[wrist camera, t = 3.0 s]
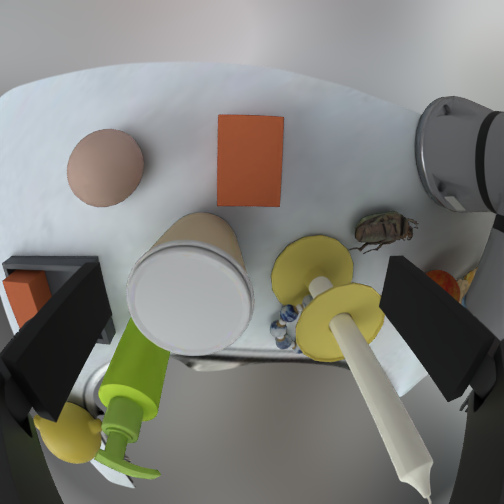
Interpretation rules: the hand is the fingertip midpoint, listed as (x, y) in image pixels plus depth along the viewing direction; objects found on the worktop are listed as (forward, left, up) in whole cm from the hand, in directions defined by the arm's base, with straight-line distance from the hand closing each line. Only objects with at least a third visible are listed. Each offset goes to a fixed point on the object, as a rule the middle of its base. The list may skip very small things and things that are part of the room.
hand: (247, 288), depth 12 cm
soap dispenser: (+10, +16, -18) cm, 26 cm away
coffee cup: (+4, +5, -18) cm, 19 cm away
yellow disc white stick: (-9, +8, -18) cm, 22 cm away
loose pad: (-1, -4, -18) cm, 18 cm away
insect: (-16, +3, -14) cm, 22 cm away
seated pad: (+28, +12, -17) cm, 35 cm away
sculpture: (+34, +44, -16) cm, 58 cm away
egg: (+12, -4, -18) cm, 22 cm away
